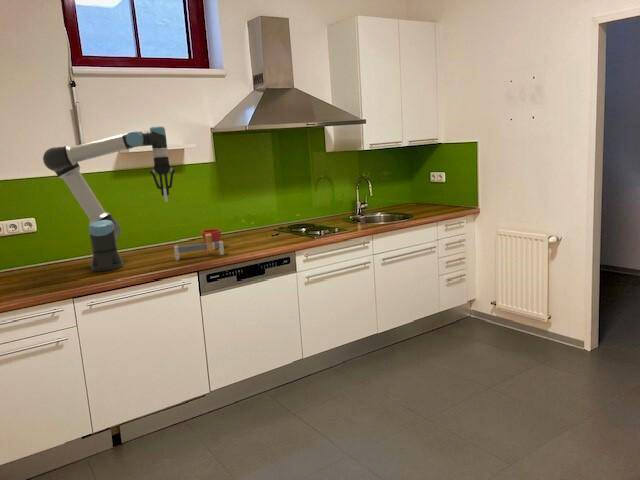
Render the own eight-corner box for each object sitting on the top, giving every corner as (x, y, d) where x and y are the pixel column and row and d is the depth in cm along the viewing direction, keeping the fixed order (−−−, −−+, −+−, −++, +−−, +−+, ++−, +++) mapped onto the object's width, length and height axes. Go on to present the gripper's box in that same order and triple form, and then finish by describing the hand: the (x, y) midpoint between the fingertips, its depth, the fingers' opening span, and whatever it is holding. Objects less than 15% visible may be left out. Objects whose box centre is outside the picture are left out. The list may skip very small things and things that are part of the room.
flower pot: (211, 244, 310) (210, 228, 309) (226, 245, 305) (224, 229, 303) (199, 248, 302) (197, 231, 300) (213, 249, 296) (212, 232, 294)
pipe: (175, 260, 276) (174, 247, 274) (175, 258, 281) (174, 245, 280) (224, 254, 281) (223, 242, 280) (223, 252, 287) (222, 240, 286)
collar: (207, 254, 279) (205, 236, 277) (207, 251, 285) (205, 233, 283) (213, 253, 279) (211, 235, 277) (212, 250, 286) (210, 233, 284)
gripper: (147, 157, 273) (153, 203, 278) (173, 155, 276) (178, 201, 281) (148, 157, 280) (153, 201, 285) (173, 155, 283) (178, 199, 288)
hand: (166, 201), depth 283 cm, fingers closed
